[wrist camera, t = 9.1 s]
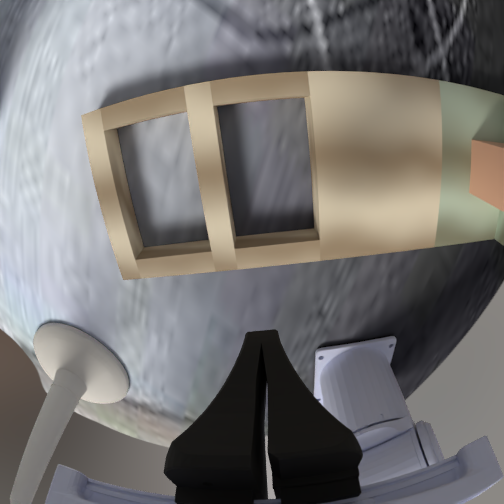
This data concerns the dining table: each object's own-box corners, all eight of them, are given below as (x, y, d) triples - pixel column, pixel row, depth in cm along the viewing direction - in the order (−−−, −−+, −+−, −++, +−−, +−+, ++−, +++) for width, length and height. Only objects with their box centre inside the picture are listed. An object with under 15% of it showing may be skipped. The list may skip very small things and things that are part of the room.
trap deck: (488, 228, 20) (522, 253, 16) (132, 266, 22) (107, 303, 18) (495, 96, 15) (536, 101, 11) (95, 114, 17) (54, 118, 12)
